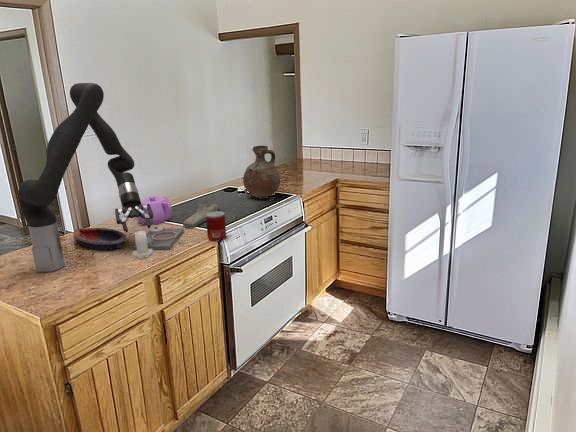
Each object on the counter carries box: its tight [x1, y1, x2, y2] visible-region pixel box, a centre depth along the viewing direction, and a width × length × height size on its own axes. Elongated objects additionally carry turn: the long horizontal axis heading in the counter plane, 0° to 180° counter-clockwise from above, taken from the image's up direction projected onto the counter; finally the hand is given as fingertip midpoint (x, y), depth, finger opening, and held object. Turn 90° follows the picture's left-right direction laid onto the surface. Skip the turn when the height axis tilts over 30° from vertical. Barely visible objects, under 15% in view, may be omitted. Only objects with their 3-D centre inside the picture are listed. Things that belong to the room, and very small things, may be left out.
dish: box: [73, 227, 127, 250], centre depth 187 cm, size 16×31×5 cm, turn 54°
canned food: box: [205, 210, 227, 241], centre depth 188 cm, size 8×8×11 cm
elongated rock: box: [182, 203, 220, 229], centre depth 220 cm, size 35×5×10 cm
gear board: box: [132, 225, 185, 251], centre depth 188 cm, size 23×15×4 cm, turn 178°
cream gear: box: [132, 230, 154, 260], centre depth 171 cm, size 8×8×10 cm
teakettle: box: [136, 195, 173, 225], centre depth 217 cm, size 17×17×12 cm
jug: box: [242, 145, 281, 199], centre depth 253 cm, size 22×22×30 cm
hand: (138, 229), depth 174 cm, fingers open, 8 cm apart
